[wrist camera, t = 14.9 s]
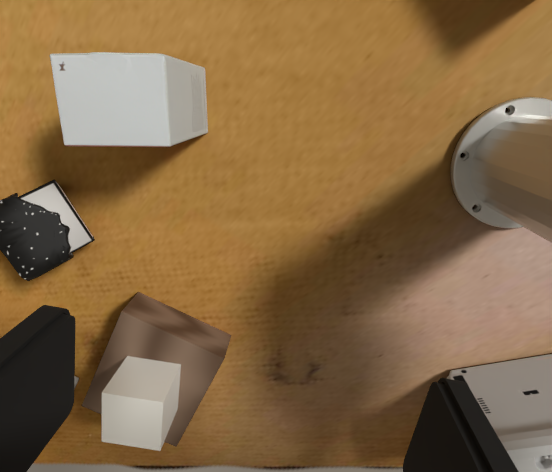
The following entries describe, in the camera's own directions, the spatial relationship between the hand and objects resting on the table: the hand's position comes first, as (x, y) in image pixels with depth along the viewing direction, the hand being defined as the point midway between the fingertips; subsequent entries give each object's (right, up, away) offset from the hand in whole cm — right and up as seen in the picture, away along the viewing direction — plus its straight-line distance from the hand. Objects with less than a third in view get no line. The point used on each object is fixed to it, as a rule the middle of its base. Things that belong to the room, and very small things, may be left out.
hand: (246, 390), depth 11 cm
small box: (-10, +17, +30) cm, 36 cm away
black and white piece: (-30, +7, +35) cm, 47 cm away
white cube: (-13, -12, +35) cm, 40 cm away
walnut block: (-13, -11, +40) cm, 43 cm away
